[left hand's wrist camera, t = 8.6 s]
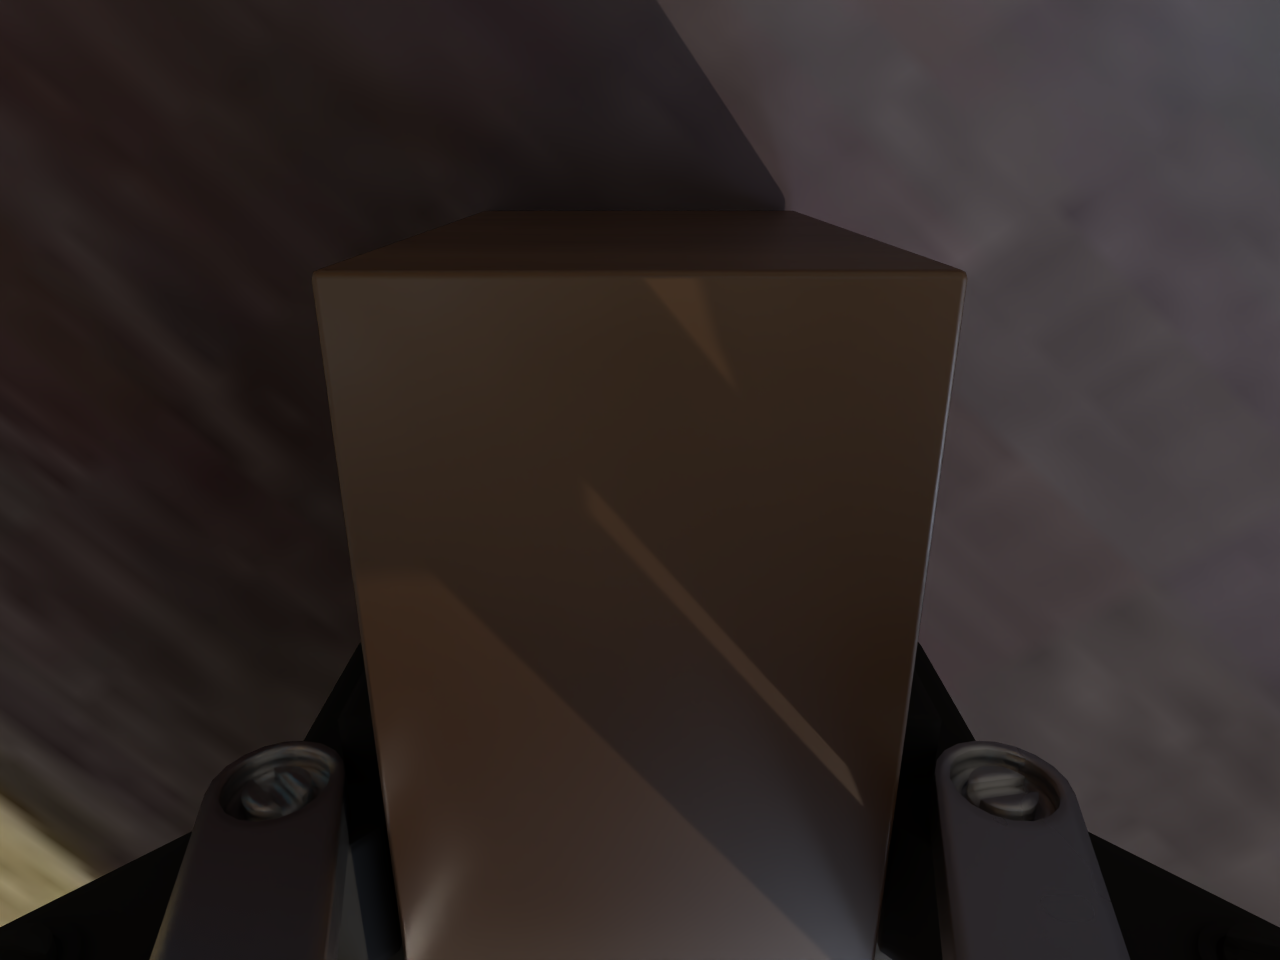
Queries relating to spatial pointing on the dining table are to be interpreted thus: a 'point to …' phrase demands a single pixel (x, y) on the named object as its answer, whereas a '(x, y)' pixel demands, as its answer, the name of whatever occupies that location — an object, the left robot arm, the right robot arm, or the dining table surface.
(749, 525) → the post
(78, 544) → the dining table surface
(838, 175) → the dining table surface
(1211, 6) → the dining table surface
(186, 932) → the left robot arm
